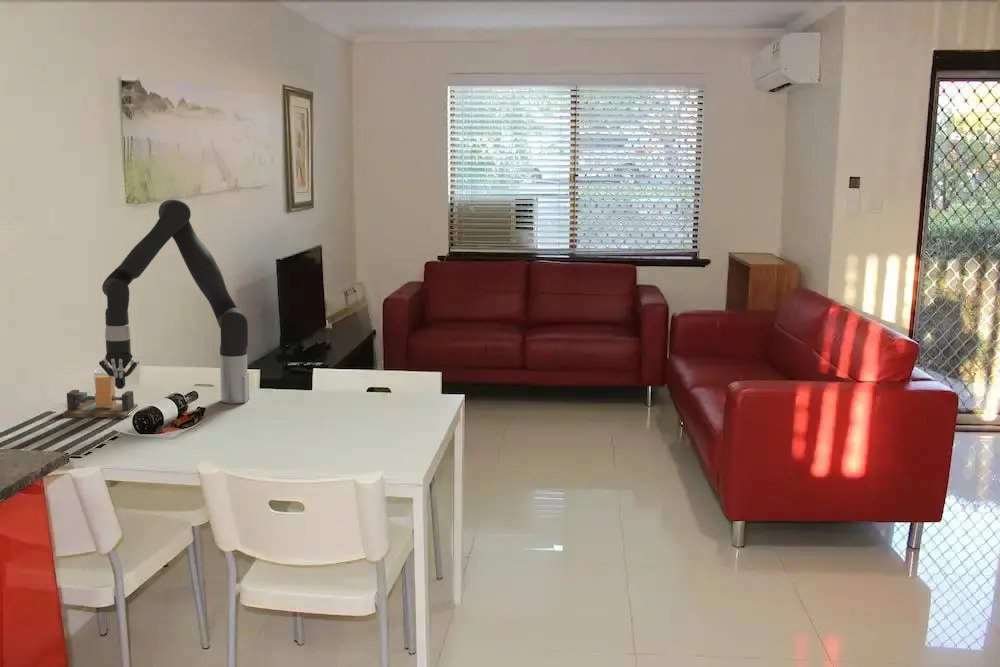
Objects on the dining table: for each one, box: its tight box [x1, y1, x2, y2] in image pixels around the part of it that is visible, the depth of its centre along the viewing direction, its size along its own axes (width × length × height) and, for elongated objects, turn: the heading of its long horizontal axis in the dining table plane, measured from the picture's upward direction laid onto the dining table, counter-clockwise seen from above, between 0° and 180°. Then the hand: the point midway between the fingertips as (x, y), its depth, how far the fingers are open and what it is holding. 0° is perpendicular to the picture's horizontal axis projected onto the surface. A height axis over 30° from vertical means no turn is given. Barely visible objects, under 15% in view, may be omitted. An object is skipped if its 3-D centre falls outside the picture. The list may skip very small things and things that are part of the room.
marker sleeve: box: [94, 375, 117, 407], centre depth 302 cm, size 5×4×10 cm
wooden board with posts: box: [62, 389, 139, 418], centre depth 303 cm, size 20×12×7 cm, turn 92°
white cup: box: [93, 367, 118, 397], centre depth 320 cm, size 8×8×10 cm
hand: (120, 388), depth 302 cm, fingers closed
